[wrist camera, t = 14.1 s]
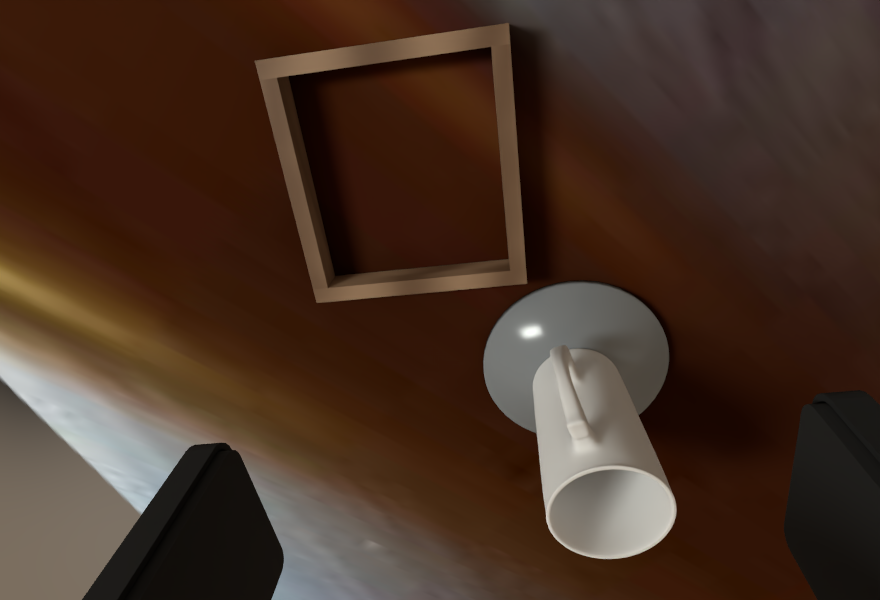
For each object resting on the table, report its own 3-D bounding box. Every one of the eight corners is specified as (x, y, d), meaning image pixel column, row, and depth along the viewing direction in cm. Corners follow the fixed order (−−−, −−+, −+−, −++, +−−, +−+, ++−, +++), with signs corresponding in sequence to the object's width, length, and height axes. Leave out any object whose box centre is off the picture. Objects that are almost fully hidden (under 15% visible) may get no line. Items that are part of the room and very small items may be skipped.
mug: (633, 406, 40) (689, 544, 29) (545, 431, 42) (568, 570, 31) (595, 291, 36) (643, 400, 25) (500, 323, 38) (507, 438, 27)
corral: (507, 23, 30) (508, 23, 28) (524, 271, 37) (527, 283, 35) (267, 59, 32) (254, 60, 30) (324, 290, 38) (316, 302, 36)
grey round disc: (670, 271, 36) (673, 275, 35) (662, 428, 41) (665, 433, 41) (474, 289, 37) (474, 293, 37) (491, 438, 43) (492, 443, 42)
